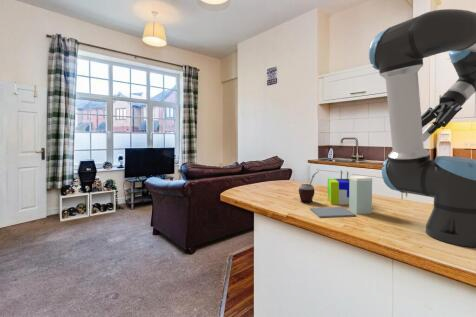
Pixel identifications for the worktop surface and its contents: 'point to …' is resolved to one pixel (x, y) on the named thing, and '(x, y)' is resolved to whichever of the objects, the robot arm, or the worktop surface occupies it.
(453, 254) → the worktop surface
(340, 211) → the rubber mat
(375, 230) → the worktop surface
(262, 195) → the worktop surface
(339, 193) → the puzzle toy
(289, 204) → the worktop surface
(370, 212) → the sage block
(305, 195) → the mate gourd
